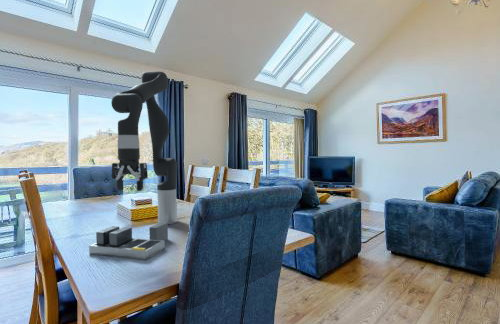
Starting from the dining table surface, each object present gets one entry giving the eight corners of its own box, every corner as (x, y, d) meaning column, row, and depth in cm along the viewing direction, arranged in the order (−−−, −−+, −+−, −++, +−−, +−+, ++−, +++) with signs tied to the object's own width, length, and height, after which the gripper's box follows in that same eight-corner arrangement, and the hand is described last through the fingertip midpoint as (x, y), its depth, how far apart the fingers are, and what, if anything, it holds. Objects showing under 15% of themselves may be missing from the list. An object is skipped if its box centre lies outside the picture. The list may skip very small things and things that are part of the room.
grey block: (161, 238, 114) (161, 222, 114) (167, 239, 113) (167, 222, 113) (149, 245, 106) (149, 227, 106) (156, 245, 105) (156, 227, 105)
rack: (89, 254, 97) (88, 232, 97) (112, 244, 108) (111, 224, 107) (146, 260, 91) (145, 237, 91) (164, 248, 102) (164, 228, 102)
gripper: (151, 147, 105) (152, 189, 105) (120, 147, 109) (121, 188, 109) (138, 147, 97) (139, 192, 98) (105, 147, 101) (107, 191, 102)
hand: (130, 190), depth 104 cm, fingers open, 8 cm apart
